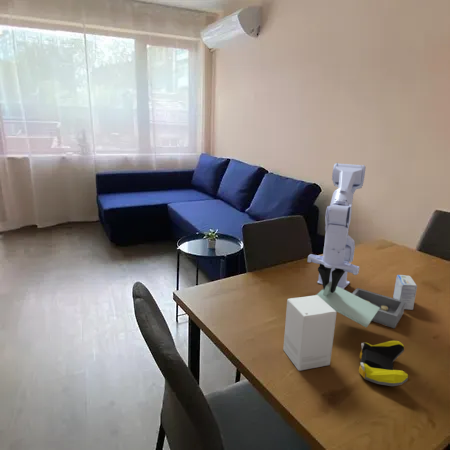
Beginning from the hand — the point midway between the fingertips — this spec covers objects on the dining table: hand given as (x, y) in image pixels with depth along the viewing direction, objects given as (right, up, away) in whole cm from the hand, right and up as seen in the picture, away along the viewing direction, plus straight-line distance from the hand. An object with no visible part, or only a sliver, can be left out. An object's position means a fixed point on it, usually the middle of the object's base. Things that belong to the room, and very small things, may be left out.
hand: (329, 290), depth 107 cm
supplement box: (-10, -15, -14) cm, 23 cm away
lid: (+4, -4, -2) cm, 6 cm away
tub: (+16, -8, +8) cm, 20 cm away
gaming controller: (+7, -17, -18) cm, 26 cm away
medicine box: (+28, -7, +14) cm, 32 cm away
